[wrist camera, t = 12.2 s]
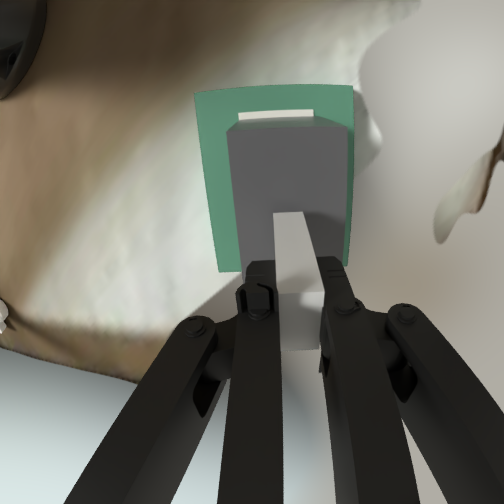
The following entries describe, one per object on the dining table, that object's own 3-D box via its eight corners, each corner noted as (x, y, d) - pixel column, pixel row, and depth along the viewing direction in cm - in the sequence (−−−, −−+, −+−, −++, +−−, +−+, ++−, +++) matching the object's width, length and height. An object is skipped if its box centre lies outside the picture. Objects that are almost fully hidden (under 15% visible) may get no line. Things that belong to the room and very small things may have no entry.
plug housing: (239, 119, 20) (226, 131, 14) (319, 116, 20) (347, 126, 13) (251, 248, 26) (246, 308, 19) (320, 244, 25) (338, 303, 18)
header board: (199, 93, 21) (179, 92, 16) (345, 86, 20) (370, 84, 15) (221, 261, 29) (212, 300, 24) (342, 255, 28) (358, 293, 23)
